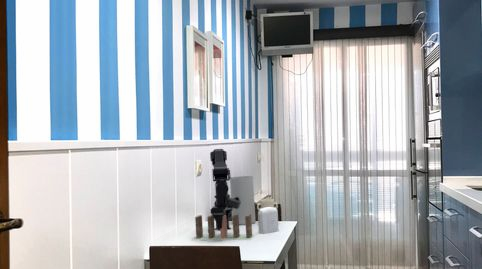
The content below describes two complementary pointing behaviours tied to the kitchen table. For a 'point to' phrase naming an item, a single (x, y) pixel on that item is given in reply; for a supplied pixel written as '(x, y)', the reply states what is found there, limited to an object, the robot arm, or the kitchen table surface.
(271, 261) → the kitchen table surface
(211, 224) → the domino
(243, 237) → the sage board
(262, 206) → the character mug
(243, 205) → the cylinder vase
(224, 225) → the red domino
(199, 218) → the domino
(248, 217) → the domino
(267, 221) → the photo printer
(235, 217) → the domino
